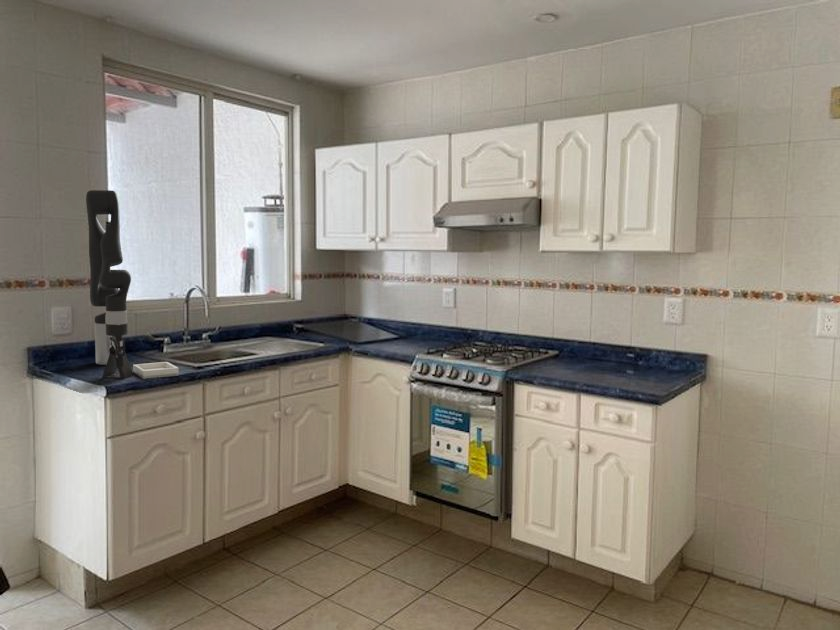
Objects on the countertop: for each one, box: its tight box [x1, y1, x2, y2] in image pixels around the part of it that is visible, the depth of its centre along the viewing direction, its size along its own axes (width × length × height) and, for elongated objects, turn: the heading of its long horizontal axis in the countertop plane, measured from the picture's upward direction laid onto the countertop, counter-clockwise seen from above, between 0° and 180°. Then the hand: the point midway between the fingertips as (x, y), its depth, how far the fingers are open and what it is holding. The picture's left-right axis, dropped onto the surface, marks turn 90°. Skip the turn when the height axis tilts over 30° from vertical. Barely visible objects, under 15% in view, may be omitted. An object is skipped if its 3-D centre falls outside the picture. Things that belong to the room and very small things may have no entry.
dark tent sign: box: [102, 347, 134, 379], centre depth 244 cm, size 9×6×12 cm, turn 86°
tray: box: [132, 361, 180, 380], centre depth 251 cm, size 15×13×3 cm
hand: (117, 365), depth 244 cm, fingers closed on dark tent sign, 6 cm apart
